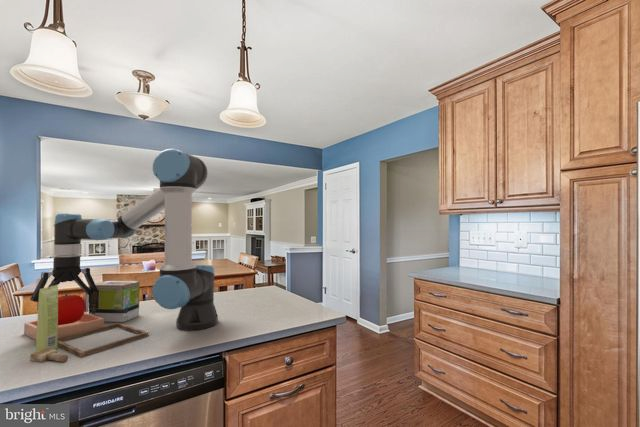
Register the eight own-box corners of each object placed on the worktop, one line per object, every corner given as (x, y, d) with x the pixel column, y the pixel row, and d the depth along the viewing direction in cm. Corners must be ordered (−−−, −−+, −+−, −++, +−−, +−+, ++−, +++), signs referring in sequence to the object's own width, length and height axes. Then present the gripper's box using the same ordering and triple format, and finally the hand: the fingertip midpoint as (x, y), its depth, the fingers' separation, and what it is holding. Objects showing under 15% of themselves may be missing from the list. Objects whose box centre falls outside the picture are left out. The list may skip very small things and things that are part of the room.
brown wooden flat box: (103, 328, 113) (103, 318, 113) (44, 344, 98) (45, 332, 98) (80, 320, 122) (81, 311, 122) (24, 333, 107) (24, 323, 108)
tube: (34, 350, 94) (36, 286, 94) (55, 345, 98) (57, 284, 98) (37, 355, 90) (39, 289, 91) (59, 350, 94) (61, 286, 95)
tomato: (84, 316, 119) (85, 289, 119) (85, 325, 109) (86, 295, 109) (45, 322, 112) (46, 293, 112) (42, 332, 102) (43, 300, 102)
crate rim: (148, 335, 106) (148, 332, 106) (80, 357, 89) (80, 353, 89) (118, 325, 116) (118, 322, 116) (52, 343, 99) (52, 339, 99)
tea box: (139, 315, 130) (140, 280, 130) (122, 323, 120) (123, 285, 120) (107, 314, 131) (108, 279, 132) (87, 321, 121) (88, 284, 122)
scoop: (72, 358, 88) (72, 352, 88) (57, 364, 84) (57, 358, 84) (46, 354, 91) (46, 348, 91) (30, 360, 87) (30, 353, 87)
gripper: (99, 252, 123) (97, 306, 123) (18, 258, 103) (16, 323, 102) (108, 253, 120) (107, 309, 119) (27, 259, 99) (25, 327, 98)
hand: (65, 316), depth 110 cm, fingers closed on tomato, 12 cm apart
